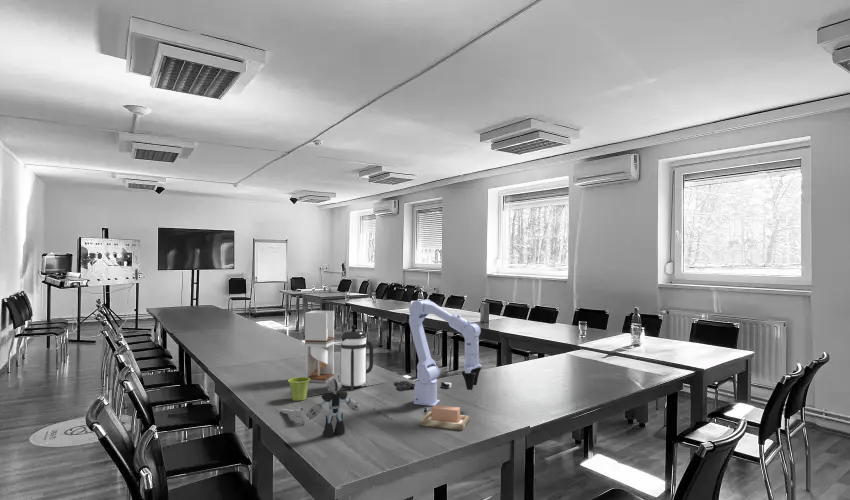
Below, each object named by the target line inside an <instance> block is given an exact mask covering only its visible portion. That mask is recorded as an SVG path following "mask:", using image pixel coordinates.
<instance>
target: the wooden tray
mask: <svg viewBox="0 0 850 500" xmlns="http://www.w3.org/2000/svg"><path fill="white" fill-rule="evenodd" d="M469 422H470V415H464V414H460V422H459V423H453V422H444V421H435V420H432V411H428V412H427V413H426V414H425V415H424V416H423V417H422V418H421V419H420V426H423V427H424V426H425V427H433V428H440V429H449V430H456V431H457V430H460V431H464V430H465V428H466V426H467V425H468V424H469Z"/></svg>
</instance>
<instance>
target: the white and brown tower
mask: <svg viewBox="0 0 850 500" xmlns="http://www.w3.org/2000/svg"><path fill="white" fill-rule="evenodd" d="M304 347H305V377H307V378H310V380H309V383H321V384H322V383H323V384H328V379H329V382H330V381H332V380H333V379H335V378H334V377H335V373H334V372H335V367H334V366H335V355H334V354H335V311H334V310H311V311H307V312H305V313H304ZM327 377H328V378H327Z"/></svg>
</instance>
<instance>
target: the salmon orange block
mask: <svg viewBox="0 0 850 500" xmlns="http://www.w3.org/2000/svg"><path fill="white" fill-rule="evenodd" d="M431 412H432V420H435V421H444V422H453V423H459V422H460V415H461V407H459V406H449V405H441V404H439V405H438V404H436V405H434V406H431Z"/></svg>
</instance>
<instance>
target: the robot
mask: <svg viewBox="0 0 850 500" xmlns="http://www.w3.org/2000/svg"><path fill="white" fill-rule="evenodd" d="M327 378H328V377H327ZM342 387H343V385H342V383H341V382H340V375H337V379H335V378H333V379H331V380H330V381H329V379H328V382H327V385H326V388H327V389H326V390H328V392H325V393H323V394H322V395H321V399H322V400H323V401H322V402H320V403H316V404H314V405H313V406H312V407H311V408H309V410H308V411H307V412H306V417H307V418H308V419H309V420H313V419H315V417H317V416H318V415H319V413H321V411H322V409H323V406H324V405H325V404H326V403H328V409H329V411H328V416H327V415H325V425H324V428H323V430H322V435H321V436H322V437H323V438H332V437H334V436H335V435H337V436H342V435H345V434H346V428H345V427H346V426H345V423H344V420H343V419H344V418H343V416H344V414H343V411H342V412H341V409H340V408H341V403H342V401H344V402H345V403H346V405H347V407H348V408H349V409H350V410H351V411H354V412H358V411H359V410H360V409H361V405H360V404H359V403H358V402H357V401H356V399H355V400H354V399H352V398H347V397H348V392H347V391H346V390H341V389H342ZM333 414H335V415H333ZM334 417H335V419H336V422H335V427H334V428H333V424H332V422H333V419H334Z"/></svg>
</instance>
